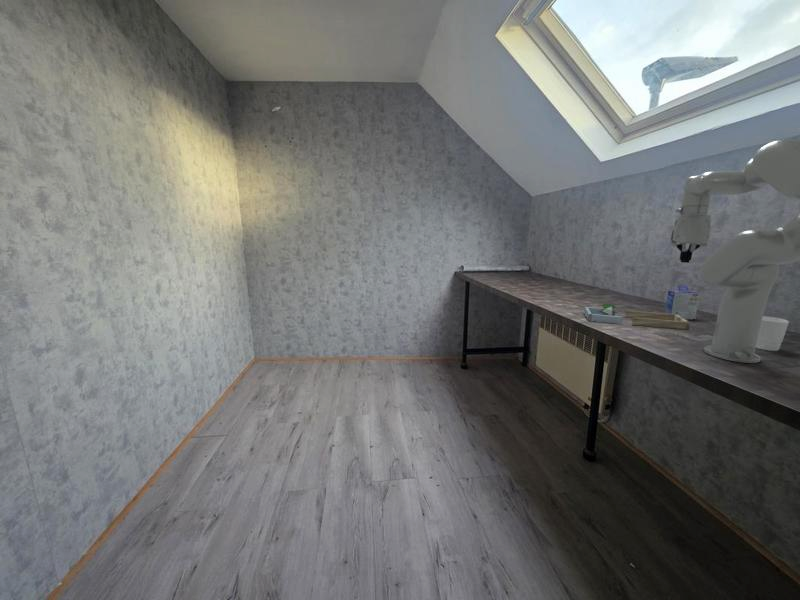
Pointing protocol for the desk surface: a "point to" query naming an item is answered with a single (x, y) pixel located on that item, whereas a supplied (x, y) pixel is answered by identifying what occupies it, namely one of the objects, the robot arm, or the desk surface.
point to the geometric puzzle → (608, 310)
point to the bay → (601, 316)
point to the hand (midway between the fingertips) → (684, 262)
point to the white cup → (771, 333)
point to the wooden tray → (658, 320)
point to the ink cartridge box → (682, 303)
